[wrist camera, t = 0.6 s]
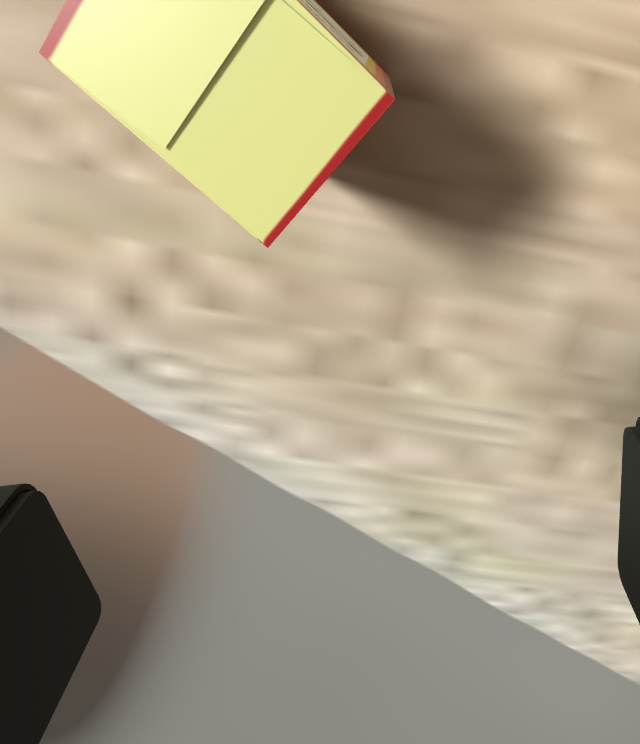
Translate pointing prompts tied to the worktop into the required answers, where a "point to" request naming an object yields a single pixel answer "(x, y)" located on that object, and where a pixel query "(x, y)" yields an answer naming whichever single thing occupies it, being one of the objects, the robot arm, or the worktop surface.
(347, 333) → the worktop surface
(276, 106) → the baking soda box
